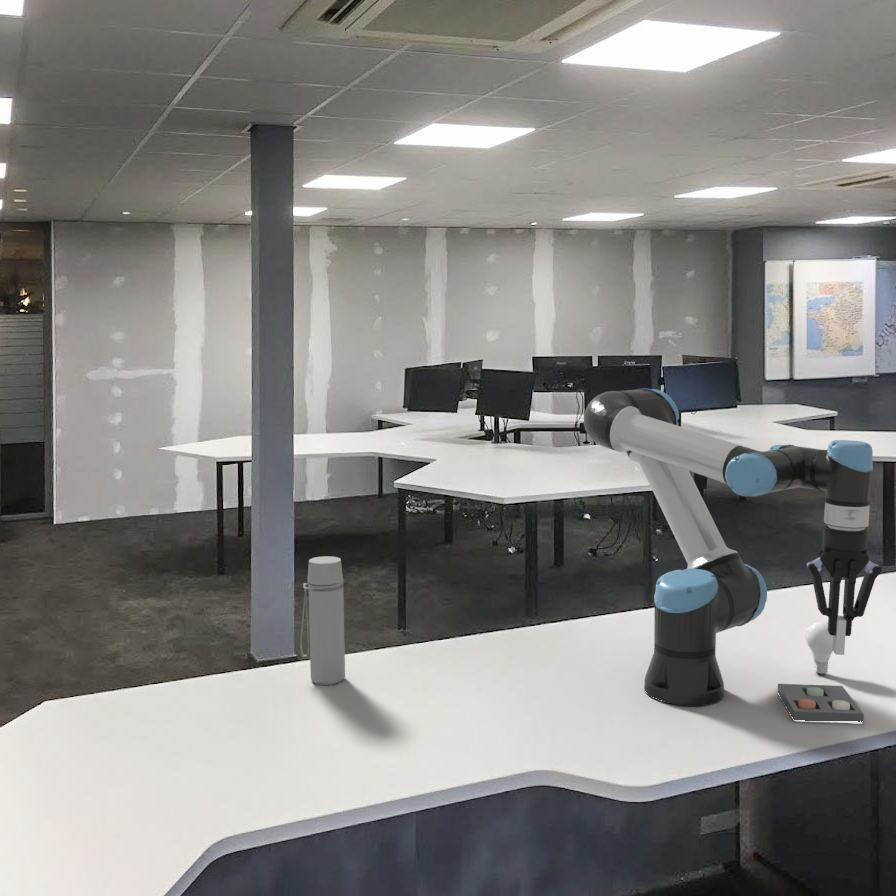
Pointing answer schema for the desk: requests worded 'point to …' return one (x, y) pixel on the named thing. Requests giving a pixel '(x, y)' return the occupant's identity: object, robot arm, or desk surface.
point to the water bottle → (325, 620)
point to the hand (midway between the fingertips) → (838, 652)
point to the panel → (819, 703)
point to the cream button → (840, 705)
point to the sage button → (815, 691)
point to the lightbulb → (820, 645)
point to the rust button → (806, 704)
